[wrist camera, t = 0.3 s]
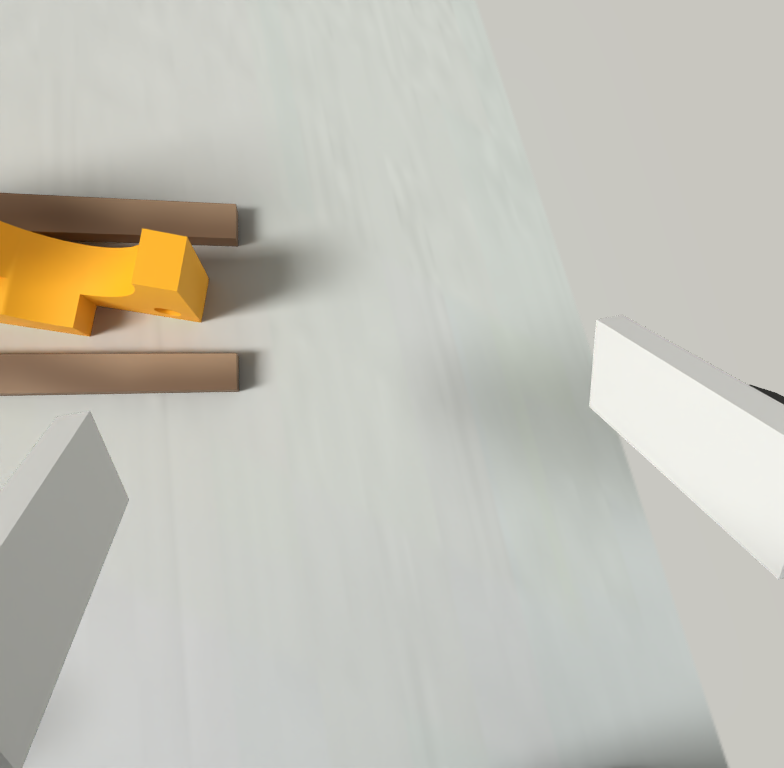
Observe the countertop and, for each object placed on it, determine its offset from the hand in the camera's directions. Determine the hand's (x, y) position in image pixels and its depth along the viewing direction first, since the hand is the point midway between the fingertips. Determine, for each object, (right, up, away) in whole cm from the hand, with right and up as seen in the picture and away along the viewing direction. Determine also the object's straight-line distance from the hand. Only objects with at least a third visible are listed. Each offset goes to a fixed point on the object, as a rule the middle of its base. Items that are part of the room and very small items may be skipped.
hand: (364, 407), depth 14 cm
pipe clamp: (-16, +5, +15) cm, 23 cm away
